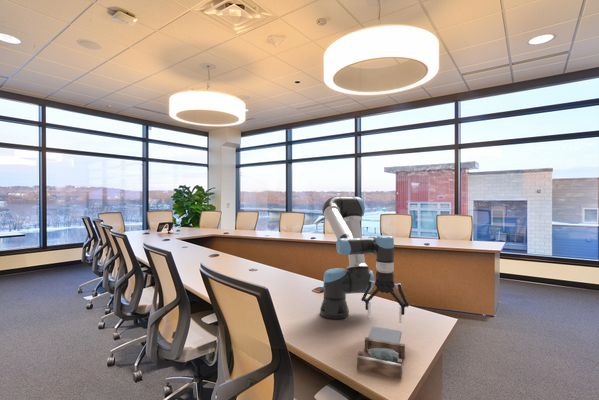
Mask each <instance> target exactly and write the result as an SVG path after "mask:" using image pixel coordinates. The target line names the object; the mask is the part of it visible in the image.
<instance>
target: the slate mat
mask: <svg viewBox="0 0 599 400" xmlns="http://www.w3.org/2000/svg"><path fill="white" fill-rule="evenodd" d="M401 335H402V330H398V329H390V328H383V327H379V326H372V327H371V328H370V331H369V333H368V336H367V337H368V338H369V339H375V340H380V341H386V342H392V343H397V344H400V341H401V337H402V336H401Z"/></svg>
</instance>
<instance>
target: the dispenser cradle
mask: <svg viewBox="0 0 599 400" xmlns="http://www.w3.org/2000/svg"><path fill="white" fill-rule="evenodd" d="M372 348H388V349H393V350H394V351H396V352H397V353H399V355H398V357H400V358H399V359H398V363H394V362H389V361H384V360H379V359H374V358H371V357H370V356H369V357H368V356H363V355H364V354H363V353H364V352H365V353H368V352H369V351H368V350H369V349H372ZM367 349H368V350H367ZM364 352H363V351H360V350H359V351H358V353H357V357H356V369H357V370H359V371H364V372H367V373H368V372H369V373H373V374H378V375H381V376H386V377H387V376H388V377H391V378H396V379H402V377H403V365H402V364H403V360H406V358H405V357H406V344H405V343H399V344H397V343H392V342H386V341H380V340H375V339H369V338H368V336H365V337H364Z"/></svg>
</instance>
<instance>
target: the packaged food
mask: <svg viewBox="0 0 599 400" xmlns="http://www.w3.org/2000/svg"><path fill="white" fill-rule="evenodd" d="M367 350H368V349H367ZM367 353H368V355H369V358H374V359H379V360H384V361H389V362H394V363H398V359H400V358H399V356H398V355H399V353H397V352H396V351H394V350H393V349H388V348H372V349H369V350H368V352H367ZM402 366H404V364H403V363H402Z"/></svg>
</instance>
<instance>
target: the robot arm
mask: <svg viewBox="0 0 599 400" xmlns="http://www.w3.org/2000/svg"><path fill="white" fill-rule="evenodd" d="M365 207H366V206H365V202H364V201H363V199H362V198H361V197H359V196H338V195H337V196H332V197H330V198H328V199H327V200H326V201H325V202H324V203H323V205H322V209H321V210H322V211H321V212H322V215H323V218H325V220H327V221H328V223H329V225H330V227H331V229H332V231H333V233H334V236H335V237H336V238H335V239H336V242H335V248H336V252H337V254H339V255H345V256H348V264H349V265H348V266H347V267H346V268H342V267H335V268H329V269H327V270H325V272H324V273H323V279H322V281H323V299H322V302H321V306H320V308H319V309H320V310H319V313H320V316H322V317H324V318H326V319H329V320H331V319H332V320H341V319H346V318H348V317H349V316H350V309H349V306H348V303H347V294H349V295H350V294H363V295H362V297H361V301H362V302H364V303H365V311H367V319H370V318H371V312H372V310H371V305H372V303H371V300H372V299H373V298H374V297H375V296H376V295H377V294H378V293H379V292H380V293H385V294H390V295H392V297H393V298H394V299H395V301H396V302H397V303H398V305H399V312H398V314H399V322H398V324H402V321H403V320H402V319H403V318H402V317H403V316H405V308H409V306H410V303H409V301H408V299H407V297H406V294H405V293H404V289H403V288H402V283H401V282H398V283H395V282H394V281H395V278H394V277H395V273H394V271H395V261H394V260H395V241H394V240H395V238H394V236H391V235H385V234H384V235H377V236H376V237H375V236H369V237H362V230H361V220H362V219H363V216H364V215H365V212H366V211H365V210H366V208H365ZM365 255H375V258H376V259H375V263H376V264H375V270H376V271H375V273H376V274H375V275H374V272H373V270H371V269H370V267H369V265H368V264H366V260H365ZM374 286H375V287H376V289H374V291H373V292H372V293H371V294H370V295H369V296H368V294H369V293H370V292H371V291H372V290H373V288H374ZM395 288H396V289H397V290H398V292H399V295H400V297H401V298H400V297H399V295H398V294H397V293H396V291H395V290H394V289H395Z"/></svg>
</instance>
